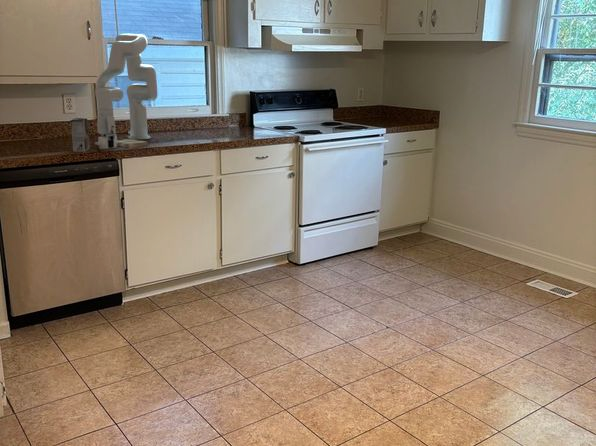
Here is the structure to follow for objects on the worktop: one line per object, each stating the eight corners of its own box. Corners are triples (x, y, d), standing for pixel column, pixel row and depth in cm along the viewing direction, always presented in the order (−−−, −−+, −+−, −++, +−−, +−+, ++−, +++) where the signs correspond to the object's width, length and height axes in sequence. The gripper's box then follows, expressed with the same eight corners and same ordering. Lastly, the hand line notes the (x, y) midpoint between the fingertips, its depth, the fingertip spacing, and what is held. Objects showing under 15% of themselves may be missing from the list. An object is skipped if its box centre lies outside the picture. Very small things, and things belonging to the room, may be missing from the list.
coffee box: (77, 148, 317) (75, 117, 312) (90, 149, 317) (87, 118, 313) (72, 151, 308) (70, 119, 304) (85, 151, 308) (83, 120, 304)
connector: (93, 148, 317) (93, 137, 316) (113, 146, 327) (113, 135, 325) (99, 149, 315) (98, 138, 313) (119, 147, 324) (118, 135, 323)
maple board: (111, 144, 332) (111, 141, 332) (129, 142, 341) (129, 138, 341) (129, 147, 323) (129, 144, 322) (147, 145, 332) (147, 141, 332)
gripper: (90, 111, 318) (92, 146, 324) (109, 114, 309) (111, 149, 314) (102, 110, 324) (104, 144, 329) (121, 113, 314) (123, 147, 319)
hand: (108, 146), depth 321 cm, fingers closed on connector, 4 cm apart
